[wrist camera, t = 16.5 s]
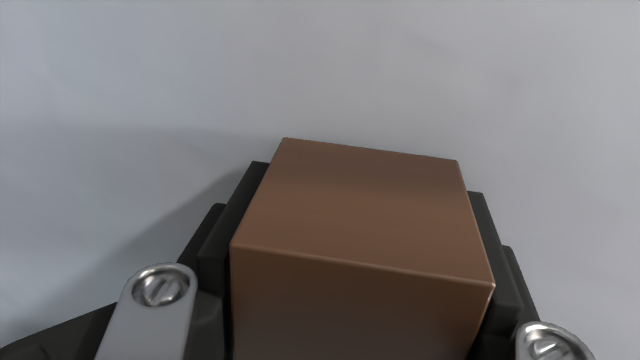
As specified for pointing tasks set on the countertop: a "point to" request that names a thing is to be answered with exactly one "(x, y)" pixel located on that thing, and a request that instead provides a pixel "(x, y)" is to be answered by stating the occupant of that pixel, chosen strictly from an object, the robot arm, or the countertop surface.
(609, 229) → the countertop surface
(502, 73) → the countertop surface
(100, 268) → the countertop surface
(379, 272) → the block
